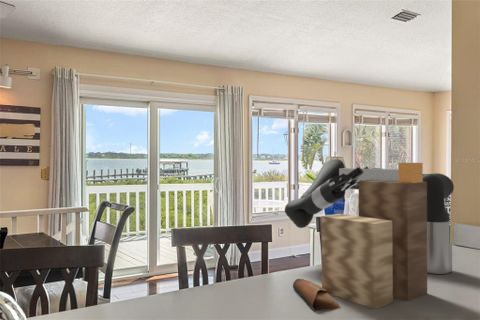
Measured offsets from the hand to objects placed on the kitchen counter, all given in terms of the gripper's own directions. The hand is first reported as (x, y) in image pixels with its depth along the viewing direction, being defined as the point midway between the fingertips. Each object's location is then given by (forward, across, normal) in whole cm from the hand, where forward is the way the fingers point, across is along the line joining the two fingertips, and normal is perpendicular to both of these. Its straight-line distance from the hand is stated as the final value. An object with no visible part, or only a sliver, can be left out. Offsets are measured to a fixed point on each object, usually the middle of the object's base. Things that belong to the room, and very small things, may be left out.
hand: (364, 169), depth 130 cm
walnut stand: (-9, 0, +35) cm, 36 cm away
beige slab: (-12, -13, +34) cm, 38 cm away
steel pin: (+2, 0, +5) cm, 6 cm away
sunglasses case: (-17, -23, +31) cm, 43 cm away
